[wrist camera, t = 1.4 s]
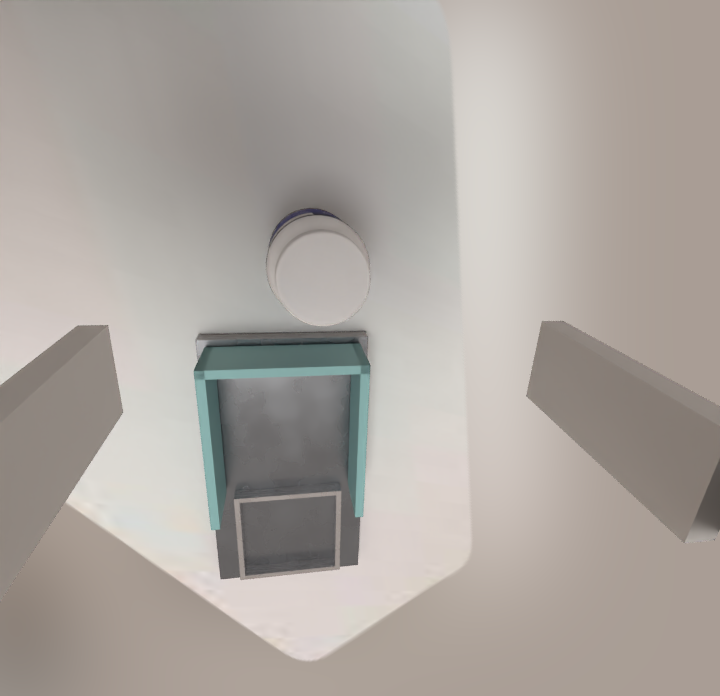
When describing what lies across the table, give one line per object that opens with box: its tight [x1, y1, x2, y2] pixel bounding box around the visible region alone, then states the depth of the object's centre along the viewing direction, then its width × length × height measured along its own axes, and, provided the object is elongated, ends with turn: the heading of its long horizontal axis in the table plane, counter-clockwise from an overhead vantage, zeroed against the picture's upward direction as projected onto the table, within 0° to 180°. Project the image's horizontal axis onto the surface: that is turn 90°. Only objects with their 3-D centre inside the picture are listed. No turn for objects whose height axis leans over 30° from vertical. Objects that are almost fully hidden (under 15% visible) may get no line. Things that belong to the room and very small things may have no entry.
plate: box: [196, 331, 368, 580], centre depth 35 cm, size 22×12×2 cm, turn 178°
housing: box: [194, 343, 370, 530], centre depth 31 cm, size 12×11×4 cm
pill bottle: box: [266, 208, 370, 326], centre depth 26 cm, size 6×6×10 cm
